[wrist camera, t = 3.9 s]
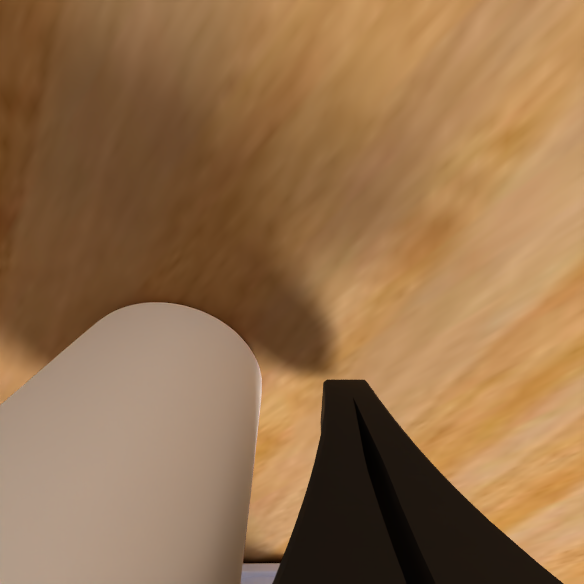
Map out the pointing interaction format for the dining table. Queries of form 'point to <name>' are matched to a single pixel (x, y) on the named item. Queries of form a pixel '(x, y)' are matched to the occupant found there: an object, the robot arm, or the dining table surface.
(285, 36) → the dining table surface
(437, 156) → the dining table surface
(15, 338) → the dining table surface
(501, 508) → the dining table surface
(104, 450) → the can
